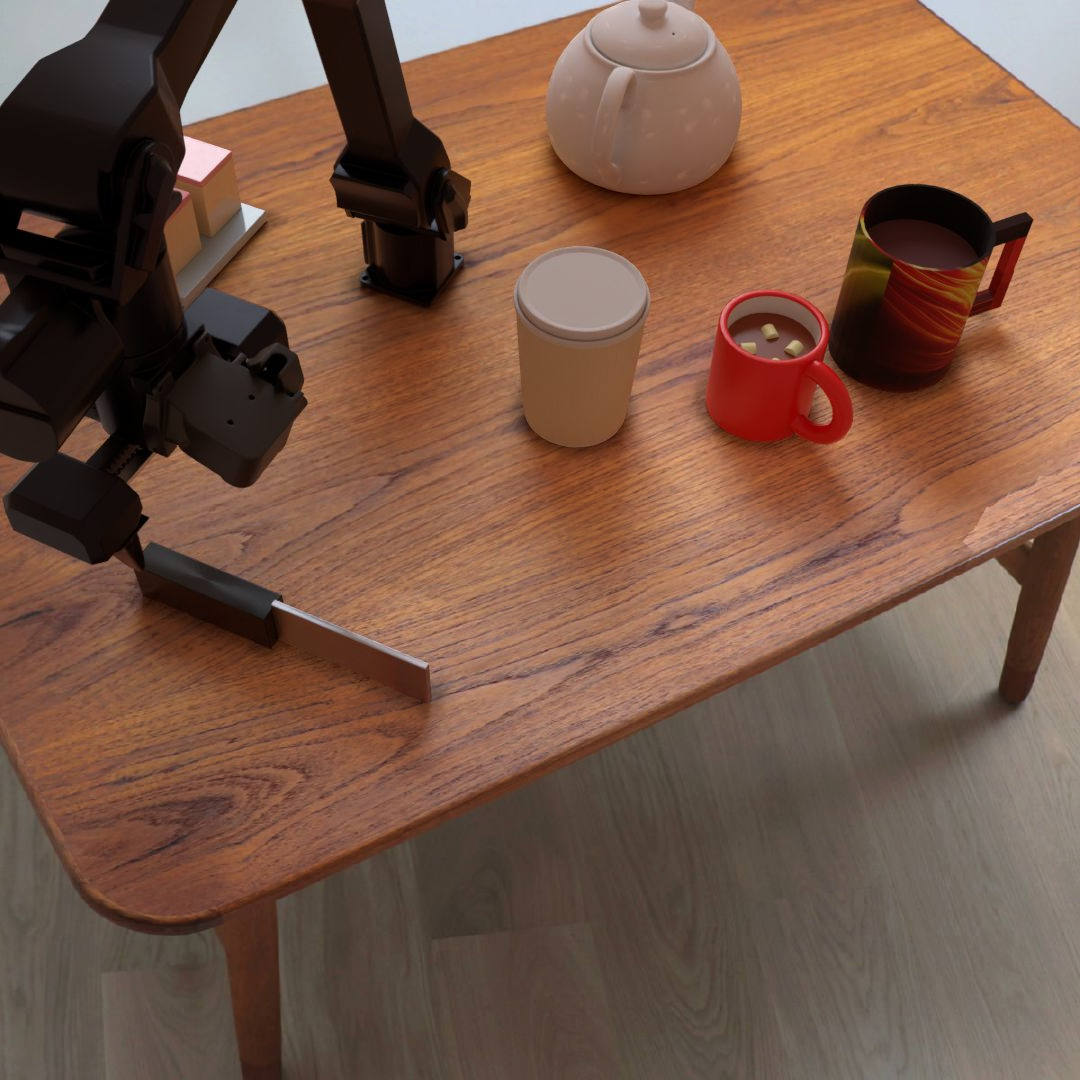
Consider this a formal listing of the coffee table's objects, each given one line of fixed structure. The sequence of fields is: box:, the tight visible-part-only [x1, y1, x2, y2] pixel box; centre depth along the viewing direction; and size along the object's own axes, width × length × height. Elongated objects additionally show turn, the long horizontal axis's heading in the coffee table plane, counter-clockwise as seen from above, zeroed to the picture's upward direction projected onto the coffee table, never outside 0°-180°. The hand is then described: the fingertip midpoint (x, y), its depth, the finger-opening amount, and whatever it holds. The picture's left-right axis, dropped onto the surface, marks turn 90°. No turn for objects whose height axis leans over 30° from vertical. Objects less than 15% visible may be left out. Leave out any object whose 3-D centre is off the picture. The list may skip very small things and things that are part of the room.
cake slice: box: [164, 188, 202, 277], centre depth 108 cm, size 8×4×6 cm, turn 65°
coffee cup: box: [513, 245, 652, 448], centre depth 97 cm, size 9×9×12 cm
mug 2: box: [827, 183, 1034, 393], centre depth 103 cm, size 10×14×12 cm
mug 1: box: [704, 288, 854, 446], centre depth 99 cm, size 8×12×8 cm, turn 43°
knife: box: [133, 541, 432, 704], centre depth 87 cm, size 21×2×4 cm, turn 65°
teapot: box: [545, 0, 743, 196], centre depth 116 cm, size 19×18×14 cm
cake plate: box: [174, 135, 268, 308], centre depth 110 cm, size 12×12×7 cm
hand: (182, 512), depth 82 cm, fingers open, 9 cm apart
